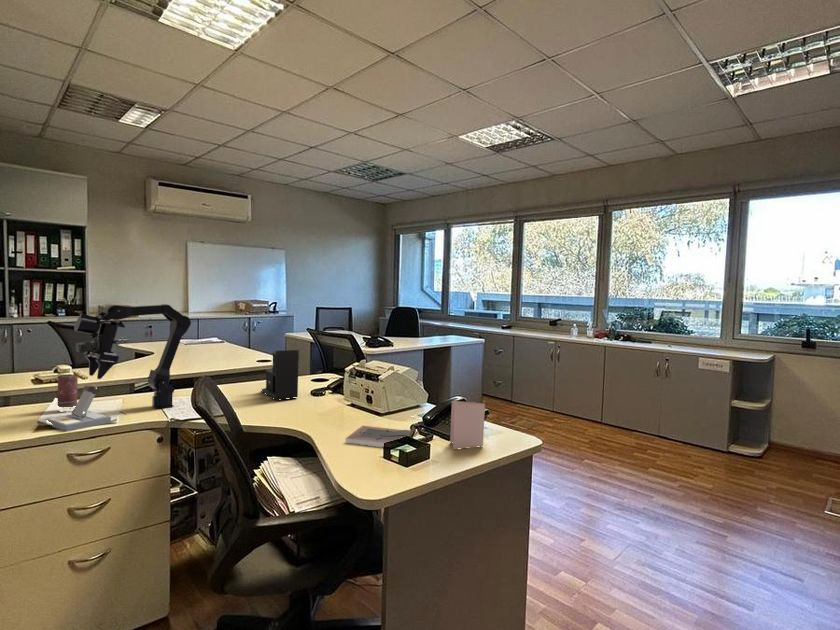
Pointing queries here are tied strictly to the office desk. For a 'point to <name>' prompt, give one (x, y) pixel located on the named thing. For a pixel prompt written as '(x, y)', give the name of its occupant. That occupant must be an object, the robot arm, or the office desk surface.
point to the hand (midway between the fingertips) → (94, 377)
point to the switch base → (79, 421)
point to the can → (67, 390)
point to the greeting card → (467, 424)
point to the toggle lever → (85, 401)
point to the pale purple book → (376, 435)
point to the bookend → (283, 375)
